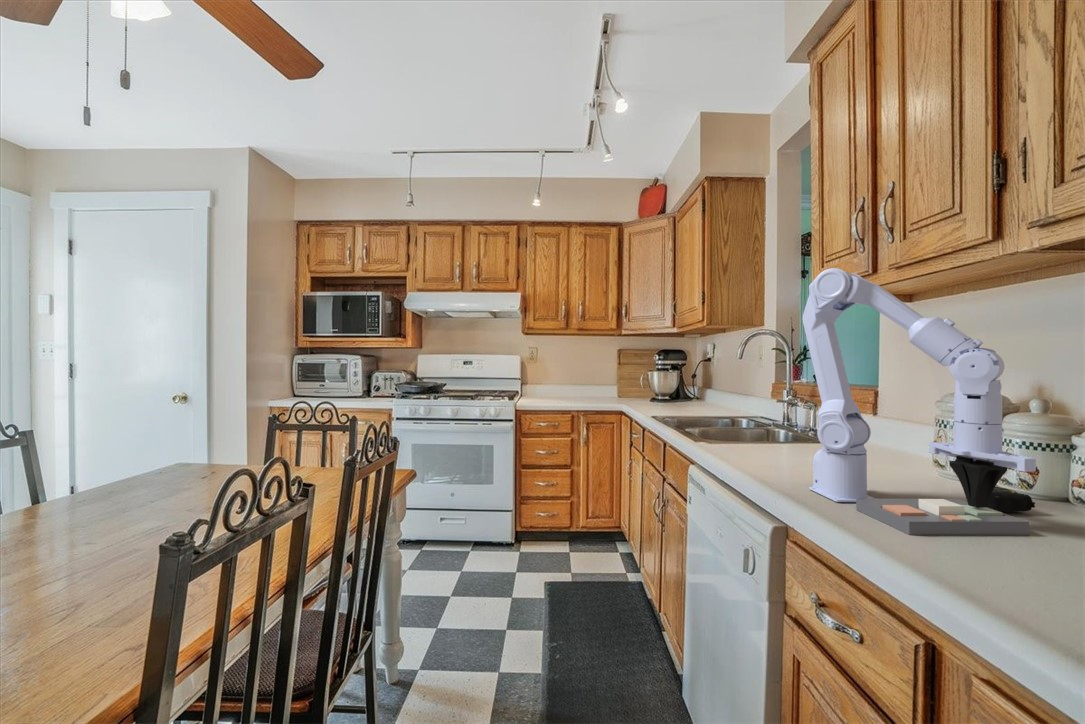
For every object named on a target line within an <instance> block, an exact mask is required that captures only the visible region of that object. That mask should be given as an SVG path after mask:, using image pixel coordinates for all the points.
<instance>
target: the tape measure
mask: <svg viewBox="0 0 1085 724" xmlns="http://www.w3.org/2000/svg"><path fill="white" fill-rule="evenodd" d="M1035 507H1036V501H1033V499H1032V497H1031V496H1030V495H1028V494H1026V493H1021V492H1018V491H1016V490H1013V489H1010V488H1005V487H1003V486H1002V487H1001V486H995V488H994V490H993V492H992V494H991V497H990V500H989V503H988V506H987V508H990V509H993V510H996V511H999V512H1002V513H1004V514H1007V513H1013V512H1015V513H1016V512H1029V511H1031V510H1032V508H1033V509H1034V508H1035Z"/></svg>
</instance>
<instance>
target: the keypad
mask: <svg viewBox="0 0 1085 724" xmlns="http://www.w3.org/2000/svg"><path fill="white" fill-rule="evenodd" d="M919 499H920V498H876V499H856V502H855V504H856V505H855V507H856V511H858V512H860V513H862V514H864V515H866V516H869V517H871V518H872V519H875V520H877V521H879V522H881V523H883V524H886V525H888V526H889V527H892V528H894V529H896V530H898V531H900V532H902V533H904V534H906V535H908V536H915V535H916V536H921V535H922V536H943V535H945V536H950V535H951V536H967V535H968V536H1014V535H1015V536H1029V535H1030V521H1028V520H1026V519H1023V518H1018V517H1015V516H1013V515H1010V514H1007V513H1003V516H976V515H973V514H971V513H968V512H965V515H957V516H954V515H941V516H938V515H935V514H933V513H930V512H928V511H925V510H922V509H920V508H919ZM943 499H944V500H947V501H950V502H953V503H956V504H959V505H968V502H967V500H964V499H961V498H943ZM882 505H908V506H910V507H913V508H915V509H918V510H921V511H923V512H926V516H900V515H897V514H895V513H893V512H890V511H888V510H886V509H883V508H882Z"/></svg>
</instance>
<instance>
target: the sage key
mask: <svg viewBox="0 0 1085 724" xmlns="http://www.w3.org/2000/svg"><path fill="white" fill-rule="evenodd" d="M962 506H964V509H965V512H968V513H971V514H973V515H976V516H1003V513H1002V512H999V511H996V510H993V509H990V508H987V507H984V508H976V507H972V506H969V505H962Z"/></svg>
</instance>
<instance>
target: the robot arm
mask: <svg viewBox="0 0 1085 724" xmlns="http://www.w3.org/2000/svg"><path fill="white" fill-rule="evenodd" d="M855 304H857V305H858V304H859V305H864V306H869V307H871V309H874V310H876V311H877V312H878V313H880V314H882V315H883V316H885V317H886V318H888V319H889V320H891V321H892V322H894V323H895V324H897V325H898V326H900V327H902V329H904V330H906V331H908V338H909V339H908V341H909V343H911V344H912V345H913V346H915V347H916V348H917V349H919V350H920V351H921V352H923V353H924V354H926V355H927V356H928V357H930V358H931V359H933V360H934V361H935V362H937V363H938V364H939V365H941V366H943V367H947V366H948V370H949V372H950V374H951V376H952V377H953V378H954V382H955V383H954V385H955V386H954V387H955V388H954V389H955V390H954V393H953V443H949V442H942V441H941V442H940V441H929V445H928V446H929V448H928V449H929V450H928V451H929V452H928V453H929V454H933V455H942V456H948V457H953V458H954V460H950V461H949V467H950V468H951V469H952V470H953V472H954V473H955V475H956V477H957V479H958V480H959V482H960V485H961V487H962V489H963V492H964V495H965V499H966V501H967V502H968V505H969V506H972V507H976V508H984V507H987V506H988V503H989V500H990V497H991V494H992V492H993V490H994V488H995V487H997V484H998V483H999V481H1000V480H1001V479H1002V477H1003V476H1004V475H1005V474H1006V473H1007V472H1008V468H1009V469H1013V470H1017V471H1020V472H1024V473H1027V472H1028V473H1030V472H1032V473H1033V472H1036V471H1037V462H1036V461H1037V459H1036V458H1035V457H1029V456H1025V455H1021V454H1017V453H1012V452H1008V451H1003V395H1002V394H1001V391H1002V383H1001V379H999V378H1000V377H1001V376H1002V374H1004V371H1005V363H1004V359H1003V358H1002V356H1000V355H999V354H998V353H997V352H996V351H995V349H994V350H993V349H991V348H986V347H981V346H982V345H983V344H984V342H983V341H982V340H980V339H979V338H975V339H973V338H971V337H970V336H968V335H967V334H965V333H964V332H962V331H961V330H959V329H958V328H956V327H954V326H955V325H956V322H955V321H953V320H951V319H950V318H945V319H943V318H941V317H939V316H933V317H931V316H930V317H924V316H923V315H921V313H919V312H917V311H916V310H914V309H913V308H911V307H910V306H909V305H908V304H906V303H905V302H903V301H902V300H900V299H899V298H897V296H895V295H894V294H892V293H891V292H889V291H888V290H887V289H885V288H883V287H882V286H881V285H879V284H877V283H875V282H873V281H870V280H868V279H866V278H865V279H864V278H863V277H862V276H861V275H859V274H857V273H852V272H847V271H845V270H843V269H841V268H838V267H837V268H836V267H832V268H831V267H830V268H827V269H824V270H823V271H821V272H820V273H819V274H818V275H817V276H816V277H815V278H814V279H813V281H812V282H811V283H810V284H809V286H808V298H807V300H806V304H805V308H804V309H803V310H804V311H803V313H802V323H803V328H804V332H805V335H806V336H805V337H806V342H807V346H808V350H809V355H810V358H811V363H812V367H813V370H814V375H815V380H816V383H817V384H816V385H817V389H818V393H819V397H820V401H821V406H820V409H819V410H818V413H817V414H818V415H817V416H818V420H819V423H818V424H819V425H818V427H817V432H816V433H817V434H816V435H817V439H818V441H819V442H820V444H821V445H822V448H819V449H818V450H817V451H816V452H815V454H814V456H813V458H812V480H813V481H812V486H808V490H811V491H813V492H815V493H816V494H819V495H821V496H823V497H825V498H827V499H829V500H831V501H834V502H836V503H856V499H877V498H875V497H874V496H871V495H868V475H867V474H868V467H867V466H868V465H867V464H868V460H867V458H868V457H867V455H868V454H867V453H868V452H867V448H866V447H865V444H866V443H868V442H869V440H870V437H871V433H872V432H871V427H870V425H869V424H868V422H867V421H866V420H865V419H864V418H863V416H862V414H861V410H860V408H859V406H858V404H857V403H856V402H855V401H854V399H853V396H852V392H851V388H850V384H849V379H848V376H847V372H846V366H845V363H844V359H843V355H842V351H841V346H840V342H839V339H838V335H837V334H838V333H837V331H836V326H835V322H836V321H837V320H838V319H839V317H840V316H841V315H842V314H843V313H844V312H845V311H846V310H847V309H849V308H850V307H852V306H853V305H855ZM955 458H956V459H955Z"/></svg>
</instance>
